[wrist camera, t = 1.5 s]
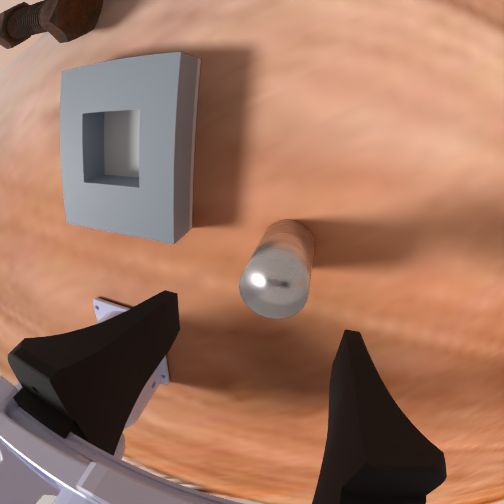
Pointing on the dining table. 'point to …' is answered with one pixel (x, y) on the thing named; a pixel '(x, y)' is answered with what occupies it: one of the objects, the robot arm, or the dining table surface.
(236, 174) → the dining table surface
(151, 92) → the hole block
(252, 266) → the pin
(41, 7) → the bolt
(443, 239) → the dining table surface
